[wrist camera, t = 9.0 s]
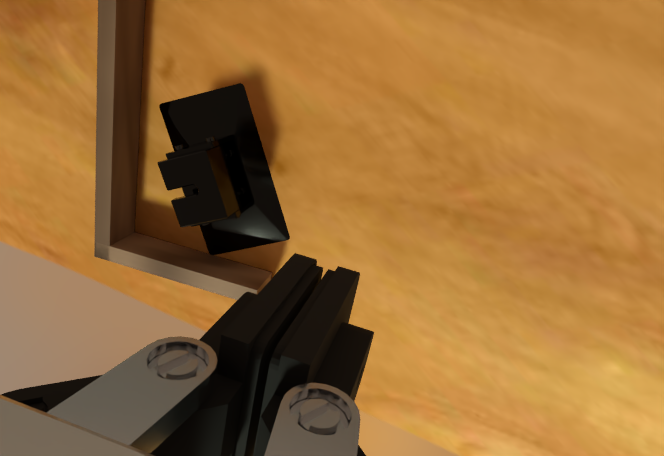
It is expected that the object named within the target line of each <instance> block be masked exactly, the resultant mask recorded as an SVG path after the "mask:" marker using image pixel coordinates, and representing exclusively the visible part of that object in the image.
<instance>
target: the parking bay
mask: <svg viewBox="0 0 664 456" xmlns="http://www.w3.org/2000/svg"><path fill="white" fill-rule="evenodd" d="M144 19H145V0H98V54H97V123H96V192H95V257H98V258H101V259H105V260H108V261H111V262H114V263H118V264H121V265H124V266H128V267H131V268H134V269H137V270H141V271H144V272H147V273H151V274H154V275H157V276H160V277H164V278H167V279H170V280H173V281H177V282H180V283H183V284H187V285H190V286H193V287H196V288H200V289H203V290H206V291H210V292H213V293H216V294H219V295H223V296H226V297H229V298H233V299H236V300H238V299H239V298H240V297H241V296H242V295H243V294H244V293H246V292H251V293H254V294H258V293H259V292H260V291H261V290H262V289H263V288H264V287H265V286H266V284H267V283H268V282H269V281H270V280H271V276H272V272H269V271H265V270H262V269H258V268H255V267H252V266H248V265H245V264H241V263H238V262H235V261H231V260H228V259H224V258H221V257H217V256H214V255H211V254H207V253H204V252H200V251H197V250H194V249H190V248H187V247H183V246H180V245H176V244H173V243H170V242H166V241H163V240H159V239H156V238H153V237H149V236H146V235H142V234H139V233H135V232H134V230H135V209H136V188H137V167H138V146H139V125H140V104H141V82H142V61H143V40H144Z"/></svg>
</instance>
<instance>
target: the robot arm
mask: <svg viewBox="0 0 664 456" xmlns="http://www.w3.org/2000/svg"><path fill="white" fill-rule="evenodd" d="M316 265H317V261H316V259H312V258H309V257H306V256H303V255H299V254H296V253H295V254H294V255H293V256H292V257H291V258H290V259H289V260H288V261H287V262H286V263H285V265H284V266H283V267H282V268H281V269H280V270H279V271H278V272H277V273H276V275H275V276H274V277H273V278H272V279H271V280H270V281H269V282H268V283H267V284H266V286H265V287H264V288H263V289H262V290H261V291H260V292H259V293H258V294H254V293H251V292H246V293H244V294H243V295H242V296H241V297H240V298H239V299H238V300H237V301H236V302H235V303H234V304H233V305H232V306H231V307H230V309H229V310H228V311H227V312H226V313H225V314H224V315H223V316H222V317H221V318H220V319H219V320H218V321H217V322H216V323H215V324H214V325H213V326H212V327H211V328H210V329H209V330H208V331H207V332H206V333H205V334H204V336H203V337H202V338H201V339H200V340H197V339H193V338H188V337H168V338H164V339H160V340H157V341H155V342H153V343H151V344H149V345H147V346H146V347H144V348H143V349H141V350H140V351H138V352H137V353H135V354H134V355H132V356H131V357H129V358H128V359H126V360H125V361H123V362H122V363H120V364H119V365H117V366H116V367H114V368H113V369H111V370H110V371H108V372H107V373H105V374H104V375H100V376H94V377H88V378H82V379H76V380H71V381H65V382H59V383H53V384H47V385H41V386H36V387H29V388H24V389H19V390H15V391H11V392H7V393H4V394H2V395H0V456H366V455H365V454H364V452H363V451H362V449H361V448H360V447H359V445H358V439H359V428H360V414H359V410H358V408H357V406H356V404H355V402H354V400H355V397H356V394H357V391H358V388H359V385H360V381H361V378H362V375H363V371H364V368H365V365H366V361H367V357H368V354H369V350H370V346H371V342H372V339H373V334H374V332H373V331H370V330H366V329H363V328H360V327H357V326H354V325H351V324H348V322H349V318H350V314H351V310H352V306H353V302H354V298H355V293H356V289H357V285H358V281H359V276H360V273H359V272H356V271H352V270H349V269H346V268H342V267H339V266H338V267H337V269H336V270H335V271H332V270H329V269H328V271H327V272H326V274H325V275H324V276H323V278H322V279H321V277H322V272H323V268H322V267H319V266H316Z"/></svg>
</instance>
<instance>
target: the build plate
mask: <svg viewBox="0 0 664 456" xmlns="http://www.w3.org/2000/svg"><path fill="white" fill-rule="evenodd" d="M160 110H161V113H162V116H163V119H164V122H165V125H166V128H167V131H168V134H169V137H170V140H171V143H172V145H173V148H174V151H172V152H169V153H166V157H167V159H165V160H163V161H160V162H158V166H159V168H160V171H161V174H162V177H163V180H164V182H165V185H166V188H167V190H172V189H177V188H181V187H182V190H183V192H184V195H185V196H183V197H179V198H175V199H173V200H172V201H171V202H172V205H173V207H174V210H175V213H176V216H177V219H178V221H179V224H180V227H186V226H190V225H191V227H192V226H197V225H200V228H201V231H202V233H203V236H204V239H205V242H206V245H207V248H208V251H209V254H211V255H217V254H222V253H227V252H231V251H236V250H241V249H246V248H251V247H256V246H261V245H266V244H271V243H275V242H280V241H285V240H289V238H290V236H289V233H288V230H287V226H286V223H285V220H284V216H283V213H282V210H281V206H280V203H279V200H278V197H277V193H276V190H275V187H274V183H273V180H272V177H271V174H270V170H269V167H268V164H267V160H266V157H265V154H264V151H263V147H262V144H261V141H260V137H259V134H258V131H257V127H256V124H255V121H254V118H253V114H252V111H251V108H250V104H249V101H248V98H247V95H246V91H245V88H244V85H243V84H241V83H240V84H236V85H232V86H228V87H224V88H220V89H216V90H213V91H209V92H205V93H201V94H197V95H193V96H189V97H185V98H182V99H178V100H174V101H170V102H166V103H162V104H160Z"/></svg>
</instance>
